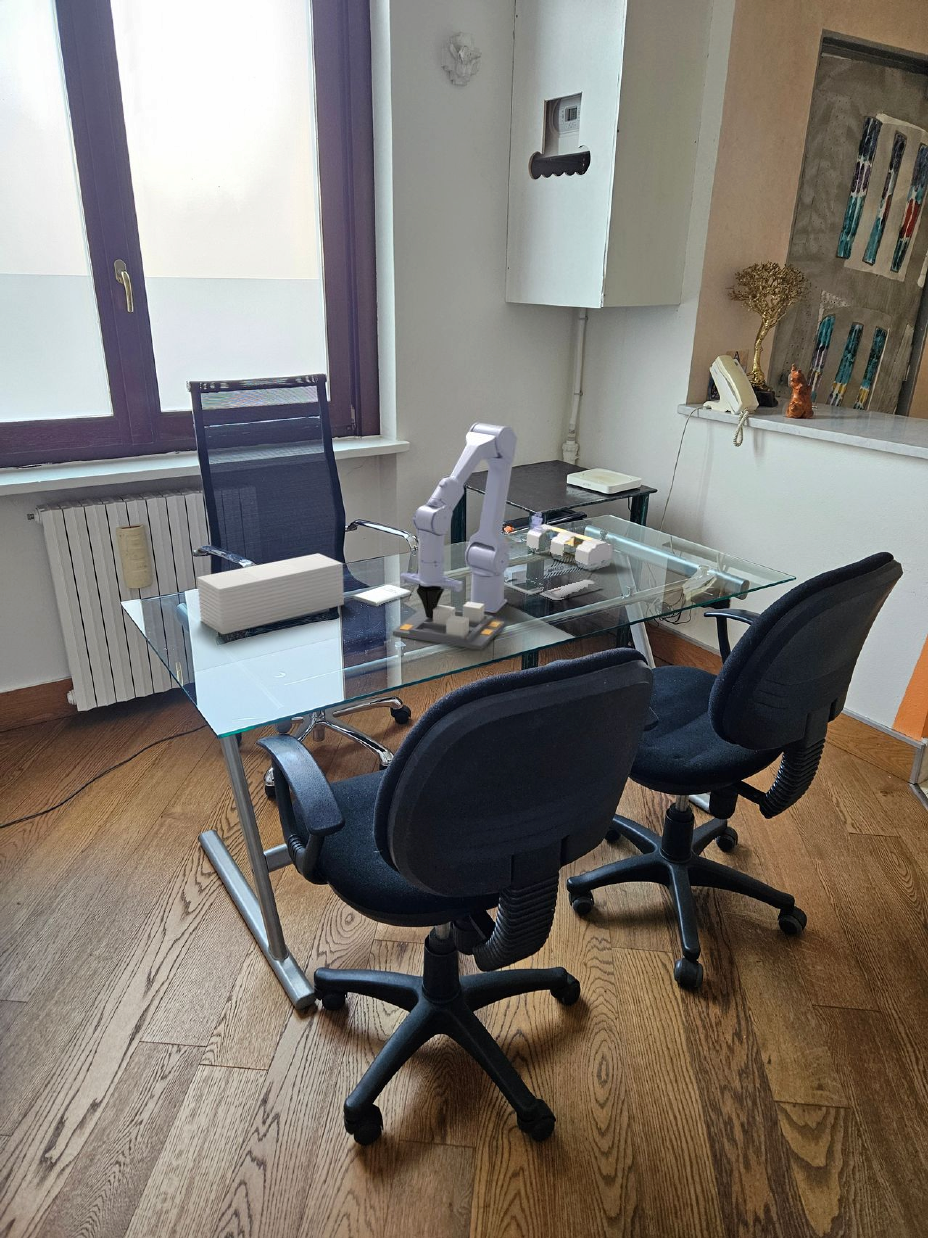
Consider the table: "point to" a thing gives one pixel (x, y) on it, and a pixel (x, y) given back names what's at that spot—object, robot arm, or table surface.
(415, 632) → the switch bank
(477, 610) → the white block
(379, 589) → the external hard drive
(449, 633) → the white block
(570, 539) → the diorama
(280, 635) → the table surface
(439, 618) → the white block
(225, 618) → the stack of papers
